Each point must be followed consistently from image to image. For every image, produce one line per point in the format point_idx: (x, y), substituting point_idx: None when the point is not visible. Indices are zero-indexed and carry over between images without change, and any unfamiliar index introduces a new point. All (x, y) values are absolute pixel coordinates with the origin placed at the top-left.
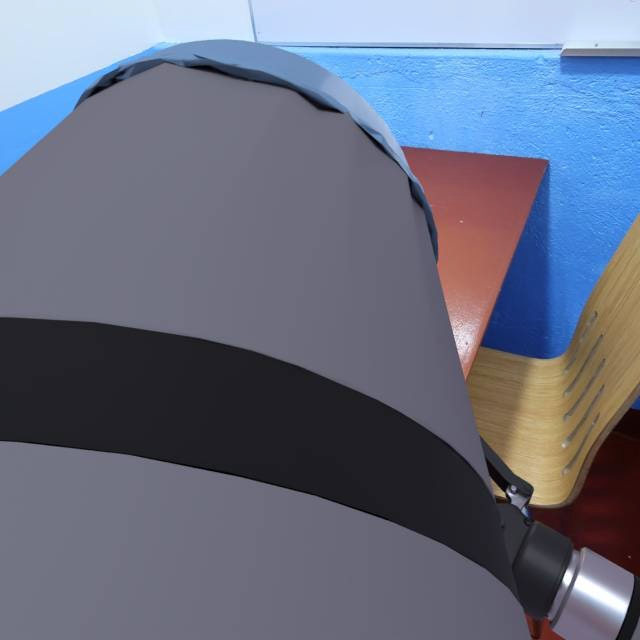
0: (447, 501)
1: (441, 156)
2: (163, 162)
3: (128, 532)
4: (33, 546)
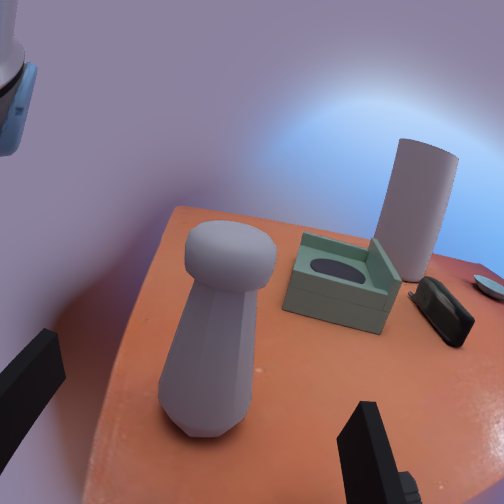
0: None
1: None
2: None
3: None
4: None
